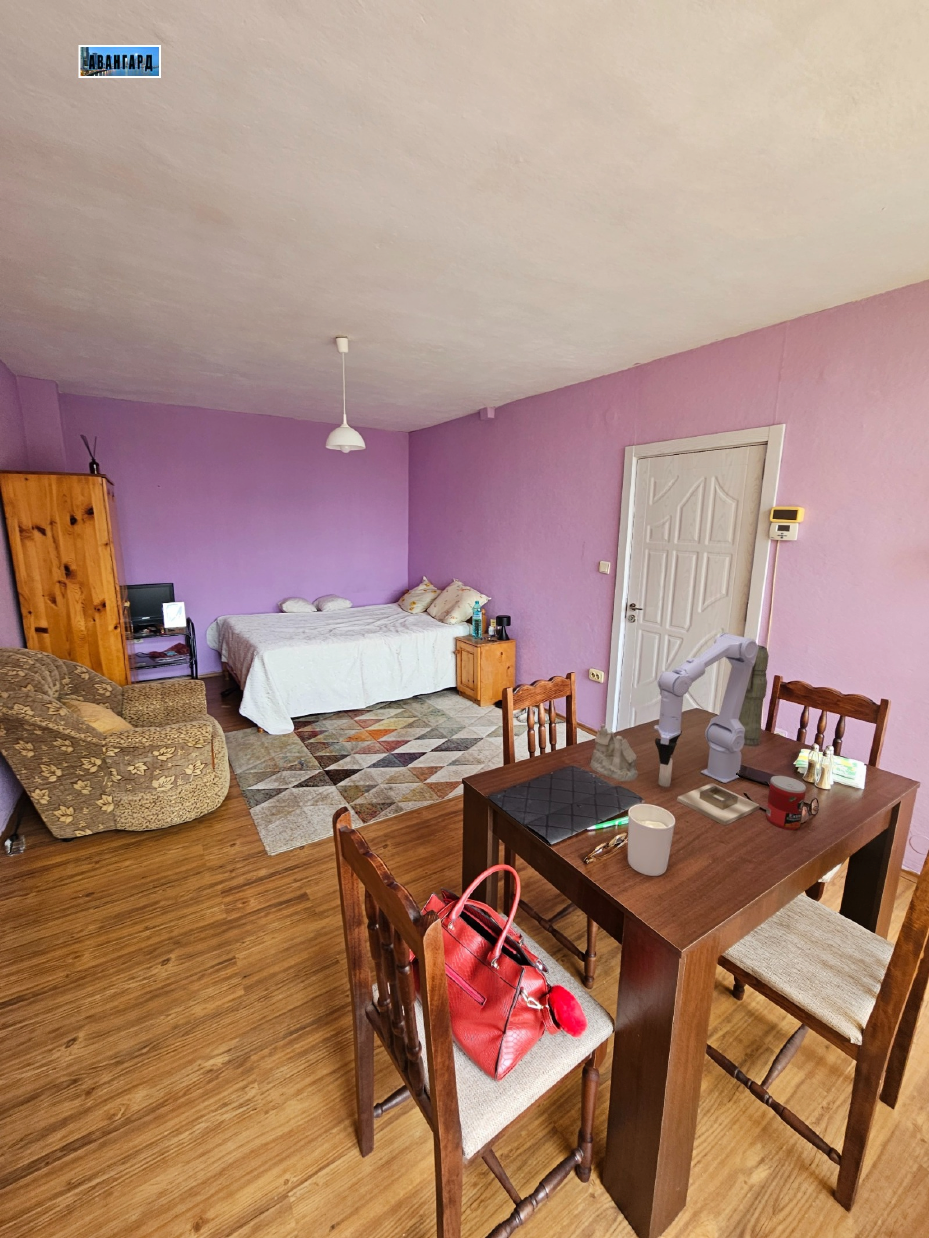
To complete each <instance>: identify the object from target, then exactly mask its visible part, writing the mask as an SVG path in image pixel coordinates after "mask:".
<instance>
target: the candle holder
mask: <svg viewBox="0 0 929 1238" xmlns="http://www.w3.org/2000/svg"><path fill="white" fill-rule="evenodd" d="M627 812H628V813H627V815H628V821H627V822H628V827H627V829H628V830H627V831H628V832H627V834H628V835H627V862H628V864H629V866H630V867H631V868H632V869H633V870H634V871H636V872H638V873H640V874H642V875H645V876H649V877H650V876H651V877H658V876H661V875H664V874H665V873H666V871H667V869H668V865H669V859H670V853H671V848H672V842H673V835H674V829H675V825H676V818H675V816H674V815H673V814H672V813H671V812H670V811H669V810H667V809H666V808H663V807H661V806H658V805H654V804H649V803H638V804H635V805H632V806H631V807H630V808H629V809H628V811H627Z"/></svg>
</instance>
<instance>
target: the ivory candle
mask: <svg viewBox="0 0 929 1238" xmlns="http://www.w3.org/2000/svg"><path fill="white" fill-rule="evenodd" d="M672 769H673V758H670V761H669V764H668V765H664V764H659V776H658V785H660V786H661V787H664V788H669V787H671V782H672V781H671V780H672Z"/></svg>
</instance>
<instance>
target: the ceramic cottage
mask: <svg viewBox="0 0 929 1238" xmlns="http://www.w3.org/2000/svg"><path fill="white" fill-rule="evenodd" d="M605 726H606V724H604V723H602V724H600V728H599V729H597V733H596V736H595V738H594V746H595V747H594V749H593V751H592V756H591V761H590V763H589V767H590V768H591V769H592V770H593V771H595V772H597V773H599V774H600V775H604V776H606V777H608V778H611V779H613V780H616V781H621V782H629V781H630V782H631V781H634V780H635V779H636V778H638V776H639V774H638V773H639V772H638V771H637V769H636V765H637V762H636V760H637V755H636V754H635V752H634V750H633V749H632V748H631V747H630V744H629V742H628V741H627V739H626V738H625V739H624V738H623V736H621V735H617V736H616V737H615V732H614V731H608V728H607V727H605Z"/></svg>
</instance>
